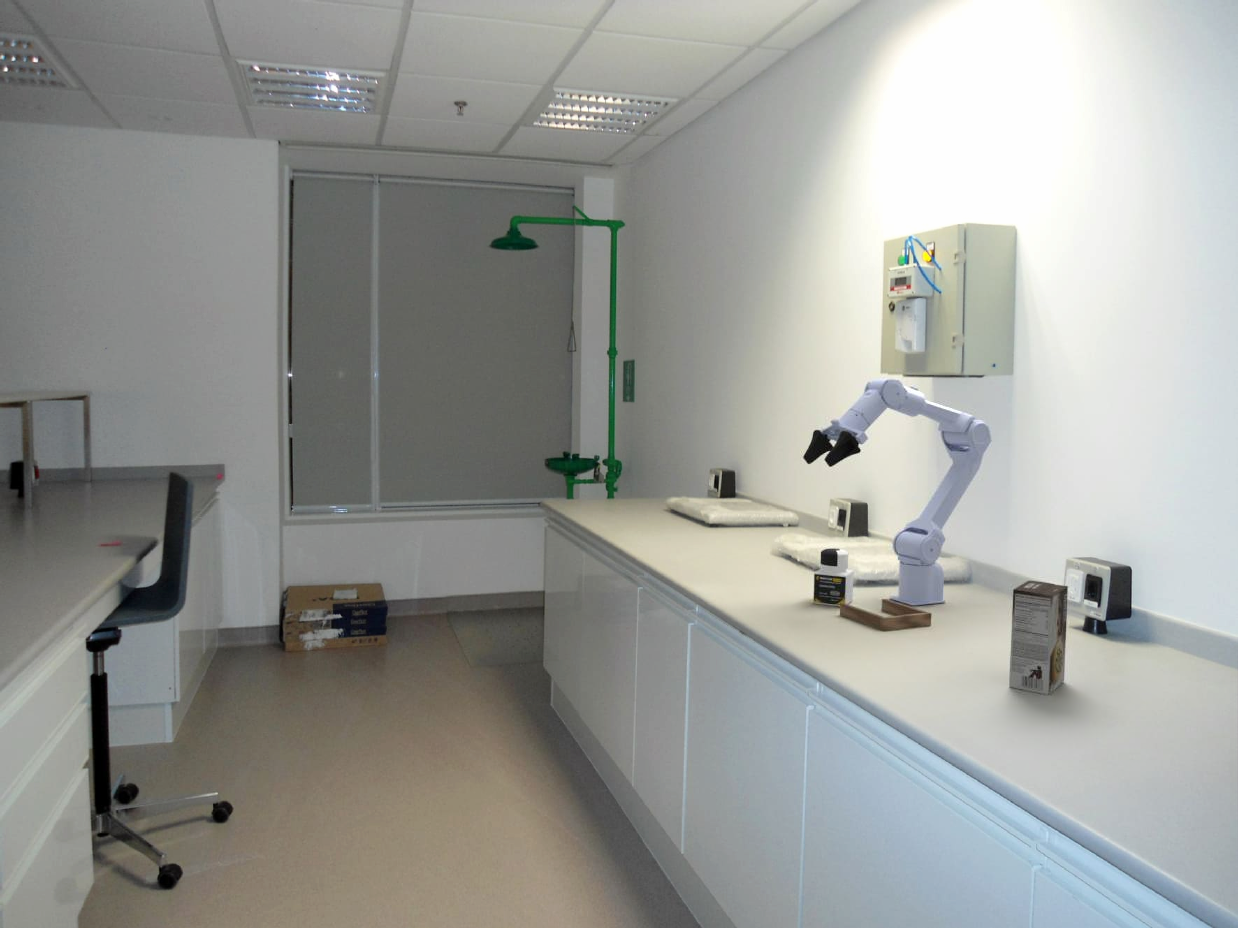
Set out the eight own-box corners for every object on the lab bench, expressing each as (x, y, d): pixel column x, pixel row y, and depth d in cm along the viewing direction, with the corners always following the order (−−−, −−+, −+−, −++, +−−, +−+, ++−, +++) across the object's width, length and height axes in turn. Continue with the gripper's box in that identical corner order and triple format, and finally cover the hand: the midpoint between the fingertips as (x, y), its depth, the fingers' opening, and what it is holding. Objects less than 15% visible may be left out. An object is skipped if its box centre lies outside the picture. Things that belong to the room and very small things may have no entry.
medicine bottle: (813, 603, 207) (814, 550, 206) (821, 597, 213) (823, 545, 212) (844, 607, 204) (846, 553, 203) (852, 601, 210) (854, 548, 209)
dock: (885, 610, 201) (885, 598, 201) (930, 625, 188) (931, 613, 188) (839, 615, 196) (840, 603, 196) (883, 630, 184) (883, 618, 183)
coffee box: (1024, 674, 156) (1028, 579, 155) (1065, 681, 152) (1069, 584, 151) (1007, 687, 149) (1011, 588, 148) (1049, 695, 145) (1054, 594, 144)
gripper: (827, 405, 205) (787, 445, 202) (869, 406, 192) (827, 450, 189) (843, 429, 207) (804, 469, 204) (886, 431, 194) (845, 475, 191)
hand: (816, 462), depth 196 cm, fingers open, 7 cm apart
